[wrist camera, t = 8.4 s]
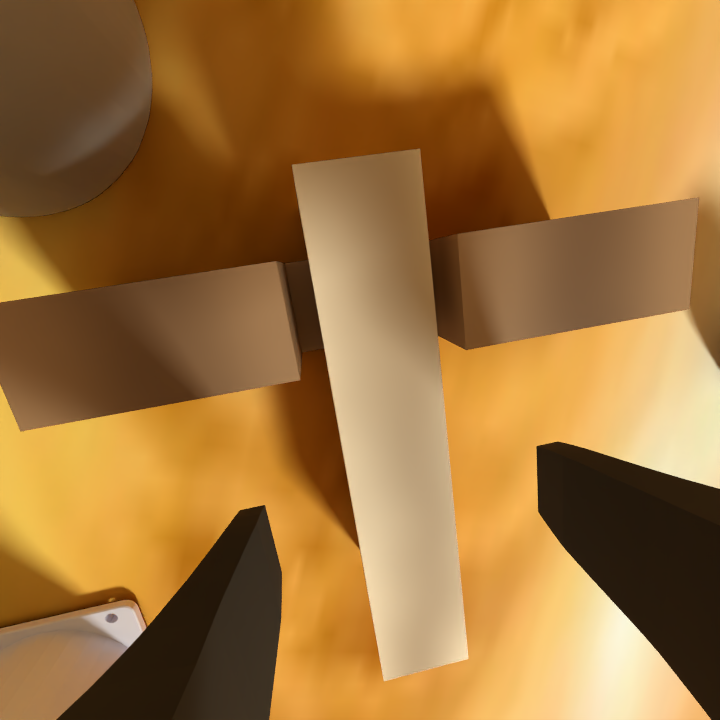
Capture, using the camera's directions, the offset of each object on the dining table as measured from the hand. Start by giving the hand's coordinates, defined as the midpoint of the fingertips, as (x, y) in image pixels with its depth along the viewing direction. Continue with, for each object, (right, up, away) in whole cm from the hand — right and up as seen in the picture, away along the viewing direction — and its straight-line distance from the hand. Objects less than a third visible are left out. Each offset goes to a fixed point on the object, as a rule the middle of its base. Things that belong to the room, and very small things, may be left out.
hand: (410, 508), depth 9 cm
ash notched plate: (-1, +2, +7) cm, 7 cm away
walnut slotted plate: (-2, +7, +6) cm, 9 cm away
